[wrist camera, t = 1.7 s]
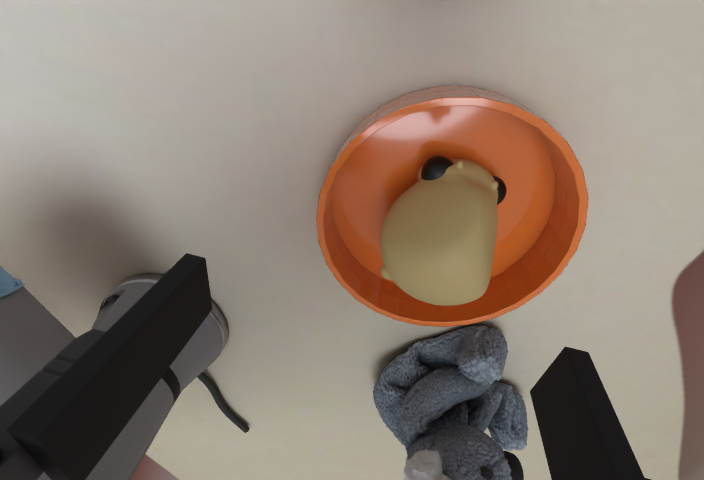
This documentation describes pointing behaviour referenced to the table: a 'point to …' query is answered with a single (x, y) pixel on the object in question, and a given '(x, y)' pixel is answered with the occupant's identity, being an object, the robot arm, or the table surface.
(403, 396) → the koala plush
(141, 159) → the table surface
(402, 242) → the beige pug toy
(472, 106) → the pan
